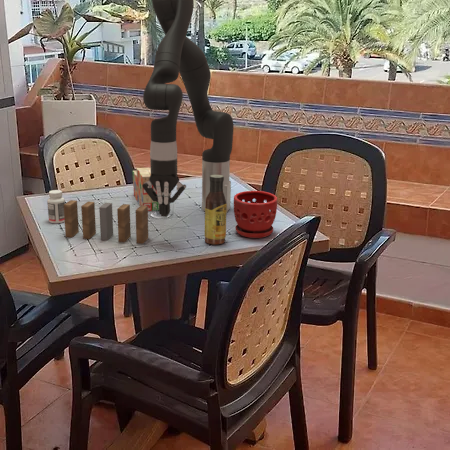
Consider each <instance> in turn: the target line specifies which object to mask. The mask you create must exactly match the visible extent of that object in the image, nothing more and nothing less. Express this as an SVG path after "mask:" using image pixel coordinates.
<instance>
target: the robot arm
mask: <svg viewBox="0 0 450 450" xmlns="http://www.w3.org/2000/svg"><path fill="white" fill-rule="evenodd" d="M151 4H152V7H153V8H152V9H153V10H154V13H155V17H156V18H157V19H156V20H158V22H159V24H160V27H161V30H162V31H163V33H164V36H163V38H162V40H161V41H160V42H159V44H158V45H157V48H156V52H155V56H154V63H153V64H154V65H153V69H152V73H151V76H149V77H150V78H149V80H148V82H147V84H146V85H145V88H144V91H143V94H142V100H143V101H142V102H143V103H144V106H145V107H146V108H147V109H148V110H151V111H168V114H167V116H164V117H159V118H154V119H153V120H151V122H150V145H149V146H150V147H149V148H150V149H149V150H150V151H149V156H150V157H149V158H150V161H149V163H150V167H151V175H150V177H149V181H147V182H145V183H144V184H143V185H142V187H143V188H144V190H145V191H146V192H147V194H148V195H149V196H150V198H151V199H152V200H153V201H154V202H155V201H156V202H158V203H159V210H158V213H159V215H160V216H161V217H165V218H167V217H168V215H170V213H171V204H173V203H175V202H176V200H177V199H178V198H179V197H180V195H182V193H183V192H184V191H185V190H186V188H187V185H186V184H183V183H182V182H180V178H179V176H178V144H177V123H178V116H179V113H180V109H181V106H182V103H183V96H184V92H183V90H182V89H181V86H179V85H178V84H176V83H175V84H174V83H173V82H175V81H177V79H178V78H179V75H180V78H181V80H182V83H183V85H184V88H185V91H186V94H187V97H188V100H189V104H190V106H191V109H192V113H193V117H194V122H195V126H196V129H197V131H198V133H199V134H200V136H201V137H203V138H206V139H209V140H212V146H211V148H207V149H204V150H202V154H201V159H202V160H201V161H202V162H201V209H202V211H203V212H205V207H206V197H207V196H208V194H209V192H210V175H223V176H224V181H223V193H224V196H225V199H226V202H227V213H228V212H229V210H230V209H231V200H232V199H231V195H232V192H231V191H232V188H231V187H232V182H231V180H230V175H231V174H230V173H231V172H230V167H231V164H230V163H231V155H232V151H233V143H234V142H233V141H234V140H233V139H234V128H235V127H234V119H233V117H232V116H231V114H229V113H228V112H224V111H218V110H214V109H213V108H212V106H211V104H210V103H211V102H210V100H209V97H208V96H209V95H208V91H209V88H210V84H211V83H210V82H211V80H212V79H211V78H212V73H211V70H210V69H211V68H210V65H209V64H208V60H207V57H206V55H205V53H204V51H203V50H202V49H201V48H200V47H199V46H198V45H197V44H196V43H195V42H193V40H191V39H190V38H189V37H188V36H187V33H188V30H189V27H190V23H191V20H192V17H193V13H194V7H195V5H194V4H195V1H194V0H151ZM152 185H153V187H154V188H155V190H156V191H157V194H156V192H155V191H154V190H153V188H152ZM175 188H176V192H175V193H174V194H173V196H172V191H173V190H175Z"/></svg>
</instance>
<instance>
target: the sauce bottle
mask: <svg viewBox="0 0 450 450" xmlns="http://www.w3.org/2000/svg"><path fill="white" fill-rule="evenodd" d="M223 181H224V176H223V175H210V192H209V194H208V196H207V197H206V207H205V211H204V235H203V236H204V241H205V243H206V244H208V245H212V246H214V245H215V246H216V245H222V244H224V243H225V241H226V236H227V232H226V231H227V213H228V212H227V202H226V199H225V196H224V193H223Z"/></svg>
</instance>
